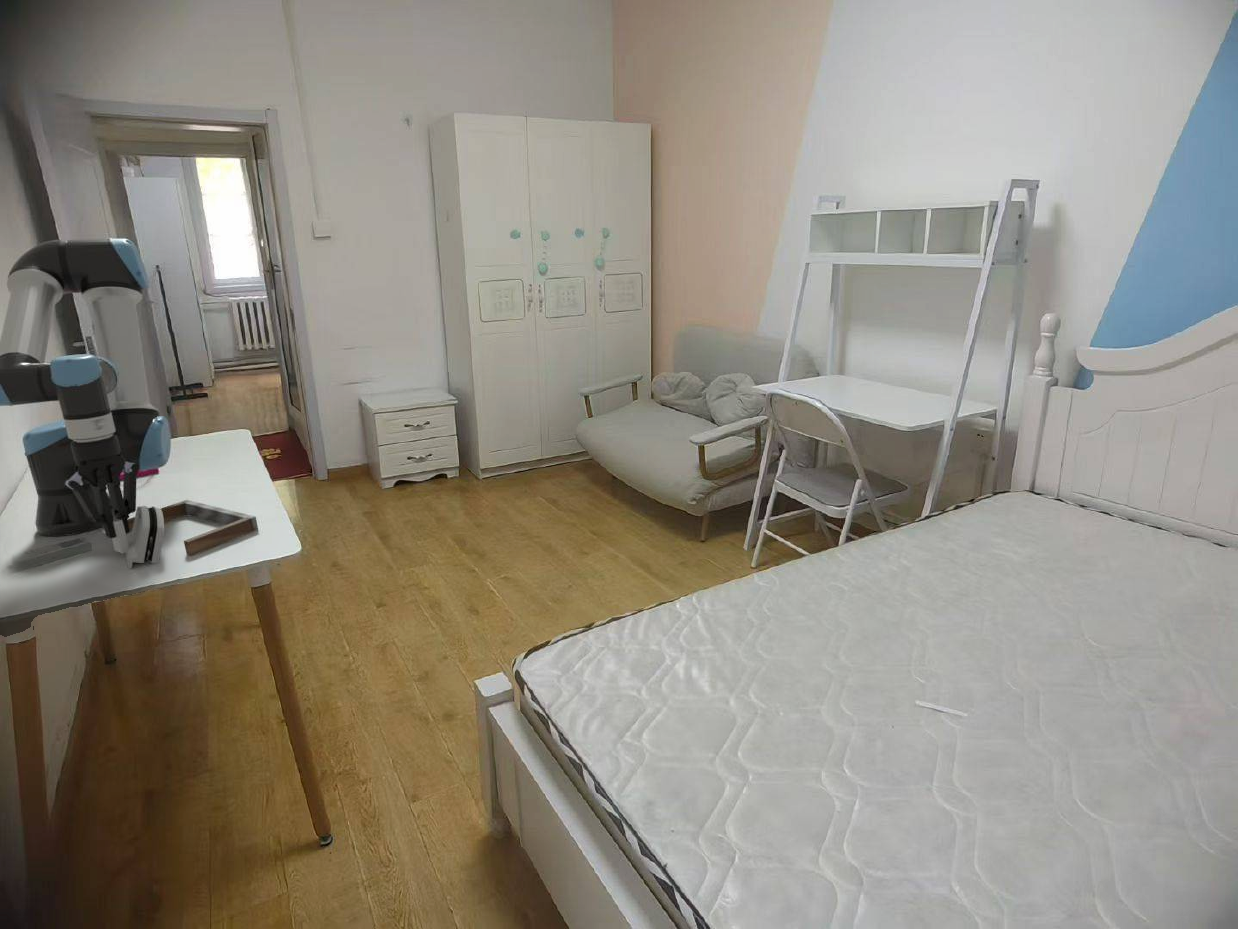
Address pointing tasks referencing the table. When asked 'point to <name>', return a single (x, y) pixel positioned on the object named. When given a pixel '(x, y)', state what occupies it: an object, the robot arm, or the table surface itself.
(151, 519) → the hinge
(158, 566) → the table surface
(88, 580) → the table surface
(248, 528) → the brown u-shaped frame
